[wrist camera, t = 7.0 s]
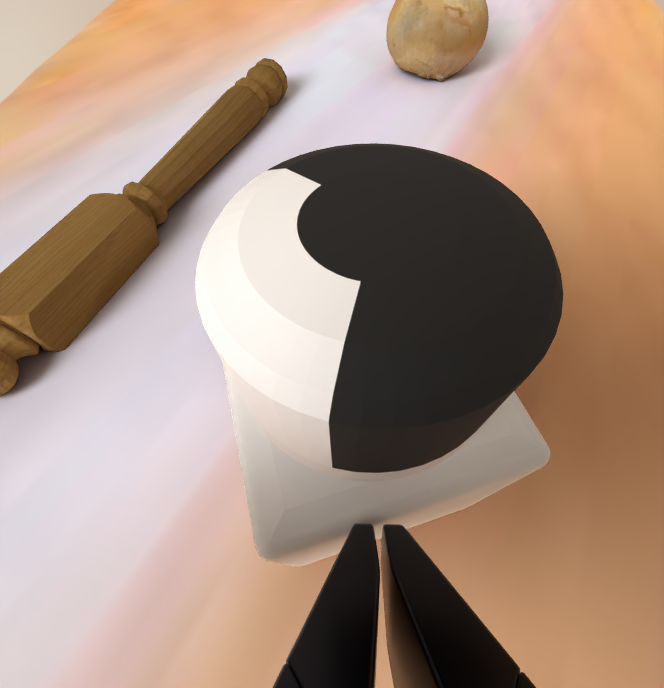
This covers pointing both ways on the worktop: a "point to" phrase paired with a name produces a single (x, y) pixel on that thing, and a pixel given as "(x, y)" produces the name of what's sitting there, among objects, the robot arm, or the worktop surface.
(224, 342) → the medicine bottle
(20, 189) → the worktop surface
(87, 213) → the tap handle
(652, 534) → the worktop surface
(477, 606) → the worktop surface
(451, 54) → the onion
